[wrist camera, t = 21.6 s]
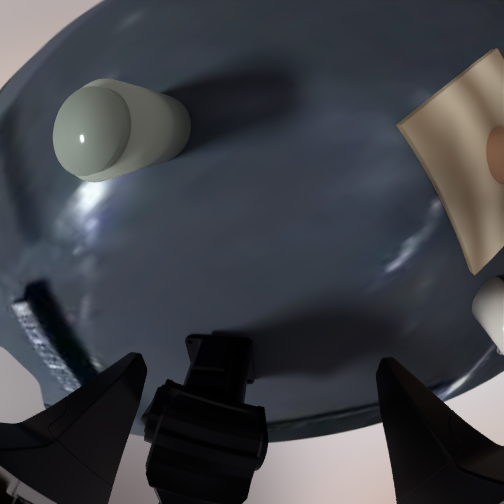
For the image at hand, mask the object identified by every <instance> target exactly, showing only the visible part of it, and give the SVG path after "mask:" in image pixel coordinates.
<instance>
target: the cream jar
mask: <svg viewBox="0 0 504 504" xmlns="http://www.w3.org/2000/svg"><path fill="white" fill-rule="evenodd" d="M472 314H473V316H474V317H475V318H476V319H477V321H478V322H479V323H480V324H481V326H482V327H483V328H484V329H485V331H486V332H487V333H488V335H489V336H490V337H491V339H492V340H493V341H494V343H495V344H496V345H497V347H498V348H499V350H500V351H501V352H502V354H503V355H504V281H503V280H502V279H501V278H499V277H493V278H491V279H489V280H488V281H486V282H485V283H484V284H483V285H482V286H481V288H480V289H479V290H478V292H477V294H476V296H475V298H474V300H473V303H472Z"/></svg>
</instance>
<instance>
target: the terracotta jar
mask: <svg viewBox="0 0 504 504" xmlns="http://www.w3.org/2000/svg"><path fill="white" fill-rule="evenodd" d="M486 155H487V163H488V167H489V170H490V172H491V174H492V176H493V178H494V179H495V180H496V181H497V182H498V183H500V184H502V185H504V126H496V127H495V128H493V130H492V131H491V132H490V134H489V137H488V140H487V147H486Z"/></svg>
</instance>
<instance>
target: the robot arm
mask: <svg viewBox="0 0 504 504" xmlns="http://www.w3.org/2000/svg"><path fill="white" fill-rule="evenodd" d="M190 340H191V341H190ZM185 343H186V347H187V350H188V354H189V358H190V362H191V364H190V367H189V370H188V373H187V376H186V379H185V381H184V384H183V385H181V384H178V383H175V382H173V381H172V380H170V379H167V381H166V383H165V385H162V386H161V387H158V389H157V391H156V393H155V396H154V398H153V400H152V402H151V404H150V405H149V406H148V408H147V409H146V411H145V412H144V414H143V415H142V418H141V422H142V423H143V425H144V427H145V429H144V433H145V436H144V441H146V442H149V443H152V445H151V448H150V451H149V455H148V458H147V462H146V470H147V471H146V476H147V480H148V483H149V485H150V487H153V488H154V490H155V493H156V495H157V497H158V500H159V504H242V503H243V502H244V501H245V500H246V499H247V497H248V493H249V488H250V484H251V480H252V477H253V474H254V471H256V470H258V469H259V468H260V467H261V466H262V464H263V462H264V459H265V456H266V453H267V448H268V432H267V424H266V416H265V409H264V407H261V406H258V407H257V406H253V405H249V404H245V403H244V400H245V393H246V385H247V384H252V383H254V365H253V349H252V341H251V340H250V339H248V338H225V337H206V336H187V337H186V339H185ZM245 343H248V344H245ZM146 375H147V367H146V364H145V362H144V359H143V357H142V355H141V354H140V353H135V352H130V353H129V354H127V355H126V356H124V357H123V358H122V359H120V360H119V361H117V362H116V363H114V364H113V365H112V366H110V367H109V368H107V369H106V370H104V371H103V372H101V373H100V374H98V375H97V376H96V377H94V378H93V379H91V380H90V381H88V382H87V383H85V384H84V385H83V386H81V387H80V388H78V389H77V390H75V391H74V392H72V393H71V394H69V395H68V396H66V397H65V398H63V399H62V400H60V401H59V402H57V403H56V404H54V405H53V406H51V407H49V408H47V409H46V410H44V411H42V412H40V413H38V414H36V415H35V416H33V417H31V418H29V419H27V420H25V421H23V422H20V423H16V424H10V423H0V504H108V502H109V498H110V494H111V491H112V487H113V484H114V480H115V477H116V474H117V470H118V467H119V464H120V461H121V457H122V454H123V451H124V448H125V445H126V442H127V439H128V436H129V433H130V430H131V427H132V424H133V421H134V419H135V416H136V413H137V410H138V407H139V404H140V400H141V396H142V392H143V387H144V383H145V379H146ZM376 382H377V389H378V398H379V406H380V413H381V418H382V423H383V427H384V432H385V436H386V441H387V446H388V451H389V457H390V462H391V468H392V474H393V480H394V487H395V494H396V501H397V504H504V446H501V445H498V444H496V443H494V442H493V441H491V440H490V439H488V438H487V437H485V436H484V435H483V434H481V433H480V432H479V431H477V430H476V429H474V428H473V427H472V426H471V425H469V424H468V423H467V422H465V421H464V420H463V419H462V418H461V417H459V416H458V415H457V414H456V413H455V412H454V411H453V410H451V409H450V408H449V407H448V406H447V405H446V404H445V403H444V402H443V401H442V400H440V399H439V398H438V397H437V396H436V395H435V394H434V393H433V392H432V391H430V390H429V389H428V388H427V387H426V386H425V385H424V384H423V383H421V382H420V381H419V380H418V379H417V378H416V377H415V376H414V375H413V374H411V373H410V372H409V371H408V370H407V369H406V368H405V367H403V366H402V365H401V364H400V363H399V362H398V361H397V360H396V359H394V358H393V357H386V358H382V359H381V361H380V364H379V367H378V370H377V372H376Z"/></svg>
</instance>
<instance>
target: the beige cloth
mask: <svg viewBox="0 0 504 504" xmlns="http://www.w3.org/2000/svg"><path fill="white" fill-rule="evenodd" d="M396 126H397V127H398V129H399V130H400V132H401V133H402V135H403V136H404V138H405V139H406V141H407V142H408V144H409V145H410V147H411V148H412V150H413V152H414V153H415V155H416V156H417V158H418V160H419V161H420V163H421V165H422V167H423V168H424V170H425V172H426V174H427V175H428V177H429V179H430V181H431V183H432V185H433V186H434V188H435V190H436V192H437V194H438V196H439V198H440V200H441V202H442V204H443V206H444V208H445V211H446V213H447V215H448V217H449V219H450V221H451V224H452V226H453V228H454V231H455V233H456V235H457V238H458V240H459V243H460V245H461V248H462V251H463V253H464V256H465V259H466V262H467V264H468V267H469V270H470V271H471V272H472V273H473V274H474V275H475V274H477V273H478V272H479V271H480V270H481V269H482V268H483V267H484V266H485V265H486V264H487V263H488V262H489V261H490V260H491V259H492V258H493V257H494V256H495V255H496V254H497V253H498V251H499V250H500V249H501V248H502V247H503V246H504V185H502V184H500V183H498V182H497V181H496V180H495V179H494V178H493V176H492V174H491V172H490V170H489V167H488V163H487V155H486V147H487V140H488V137H489V134H490V132H491V131H492V130H493V128H495V127H496V126H504V59H503V57H502V56H501V54H500V52H499V51H498V49H492V50H490V51H489V52H488V53H486V54H485V55H484V56H482V57H481V58H480V59H479V60H477V61H476V62H475V63H474V64H472V65H471V66H470V67H468V68H467V69H466V70H465V71H463V72H462V73H461V74H459V75H458V76H457V77H456V78H454V79H453V80H452V81H451V82H449V83H448V84H447V85H446V86H444V87H443V88H442V89H440V90H439V91H438V92H437V93H435V94H434V95H433V96H432V97H430V98H429V99H428V100H427V101H425V102H424V103H423V104H422V105H420V106H419V107H418V108H417V109H415V110H414V111H413V112H412V113H410V114H409V115H408V116H407V117H405V118H404V119H403V120H402V121H400V122H399V123H398V124H397V125H396Z"/></svg>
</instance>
